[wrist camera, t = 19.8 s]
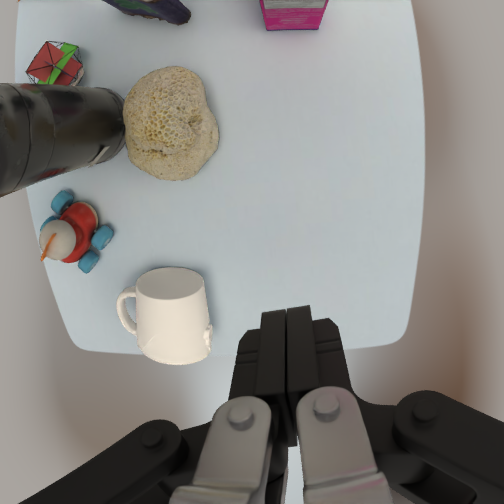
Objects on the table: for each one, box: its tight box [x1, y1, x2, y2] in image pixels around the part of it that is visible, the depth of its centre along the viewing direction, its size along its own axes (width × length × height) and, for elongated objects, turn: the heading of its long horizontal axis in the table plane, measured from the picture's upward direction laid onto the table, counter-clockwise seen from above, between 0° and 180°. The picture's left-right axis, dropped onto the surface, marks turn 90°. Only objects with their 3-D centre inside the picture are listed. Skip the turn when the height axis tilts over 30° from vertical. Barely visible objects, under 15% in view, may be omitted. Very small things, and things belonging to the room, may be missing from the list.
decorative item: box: [123, 66, 219, 181], centre depth 31 cm, size 12×9×10 cm
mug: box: [116, 267, 213, 365], centre depth 38 cm, size 12×9×8 cm
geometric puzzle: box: [25, 40, 84, 86], centre depth 28 cm, size 7×7×8 cm
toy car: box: [39, 190, 113, 274], centre depth 35 cm, size 9×9×10 cm
